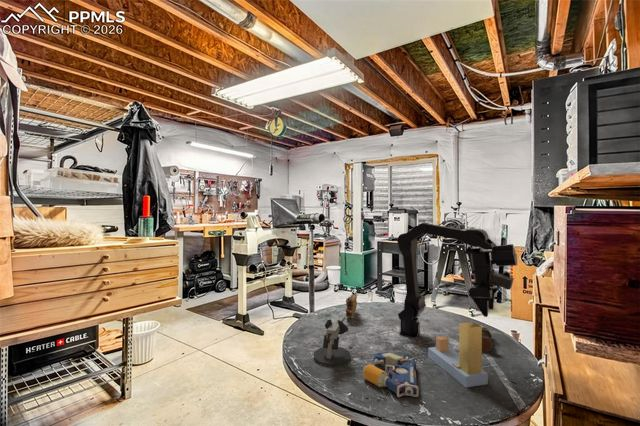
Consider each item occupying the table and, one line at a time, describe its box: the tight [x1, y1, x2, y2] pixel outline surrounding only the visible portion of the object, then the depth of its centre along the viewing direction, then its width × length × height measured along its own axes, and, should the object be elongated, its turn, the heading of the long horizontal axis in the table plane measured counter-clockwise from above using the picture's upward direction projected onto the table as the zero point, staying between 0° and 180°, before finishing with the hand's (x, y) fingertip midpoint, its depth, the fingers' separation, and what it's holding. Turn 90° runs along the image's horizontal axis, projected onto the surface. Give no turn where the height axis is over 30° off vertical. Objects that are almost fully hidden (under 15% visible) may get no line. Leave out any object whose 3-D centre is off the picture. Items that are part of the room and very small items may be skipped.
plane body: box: [427, 335, 489, 388], centre depth 93 cm, size 18×7×7 cm, turn 13°
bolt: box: [482, 327, 494, 353], centre depth 111 cm, size 6×5×15 cm
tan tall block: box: [458, 321, 483, 375], centre depth 87 cm, size 4×4×13 cm
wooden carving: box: [345, 293, 358, 319], centre depth 139 cm, size 16×5×10 cm, turn 169°
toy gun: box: [362, 351, 420, 398], centre depth 89 cm, size 21×4×15 cm
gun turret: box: [313, 315, 351, 368], centre depth 104 cm, size 13×20×13 cm, turn 161°
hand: (488, 312), depth 102 cm, fingers open, 9 cm apart
